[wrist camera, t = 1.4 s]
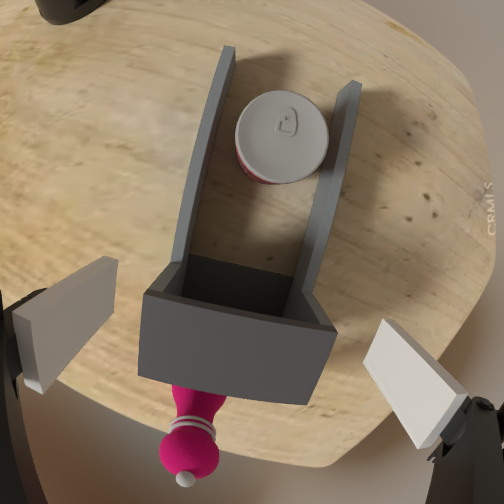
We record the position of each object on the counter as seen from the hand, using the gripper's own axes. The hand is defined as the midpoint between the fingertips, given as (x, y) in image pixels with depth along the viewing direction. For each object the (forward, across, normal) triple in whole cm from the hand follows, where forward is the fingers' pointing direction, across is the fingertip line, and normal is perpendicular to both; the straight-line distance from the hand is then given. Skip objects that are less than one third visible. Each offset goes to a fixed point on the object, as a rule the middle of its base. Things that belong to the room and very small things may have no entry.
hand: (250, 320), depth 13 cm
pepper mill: (+22, -1, -19) cm, 29 cm away
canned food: (+22, 0, +11) cm, 25 cm away
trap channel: (+22, +1, +5) cm, 22 cm away
